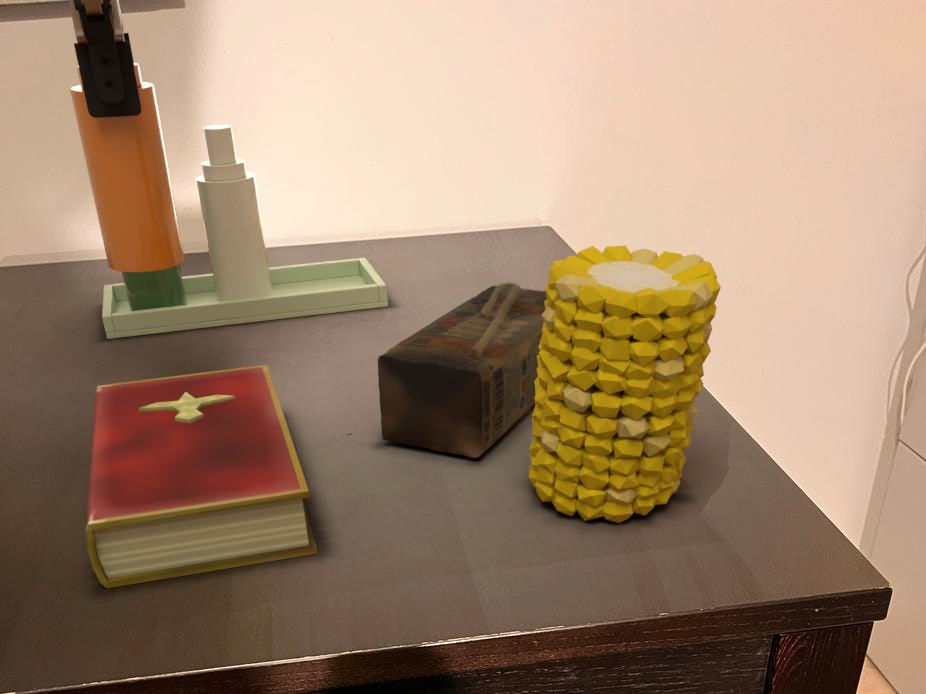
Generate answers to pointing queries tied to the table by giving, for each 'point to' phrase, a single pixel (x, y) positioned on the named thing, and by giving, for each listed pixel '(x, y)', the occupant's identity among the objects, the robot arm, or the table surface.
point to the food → (619, 378)
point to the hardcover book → (193, 477)
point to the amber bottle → (131, 183)
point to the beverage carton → (464, 373)
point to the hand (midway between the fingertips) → (115, 105)
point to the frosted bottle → (232, 220)
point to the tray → (252, 299)
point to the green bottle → (155, 289)
